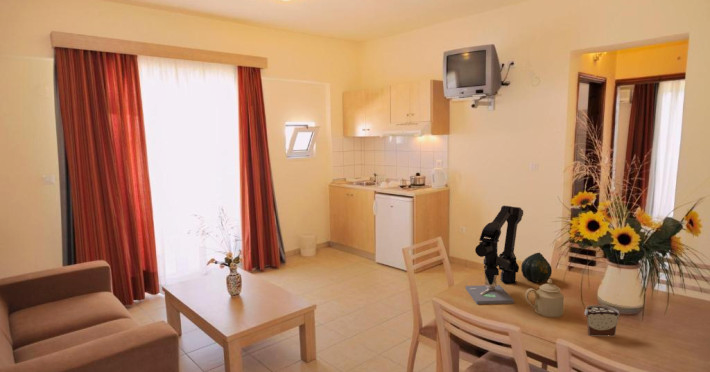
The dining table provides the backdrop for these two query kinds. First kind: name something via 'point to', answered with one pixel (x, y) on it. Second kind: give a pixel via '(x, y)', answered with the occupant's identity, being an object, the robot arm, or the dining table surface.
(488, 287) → the tuning peg
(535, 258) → the squash
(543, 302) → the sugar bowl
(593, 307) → the food container
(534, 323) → the dining table surface
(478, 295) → the tuner dial board
